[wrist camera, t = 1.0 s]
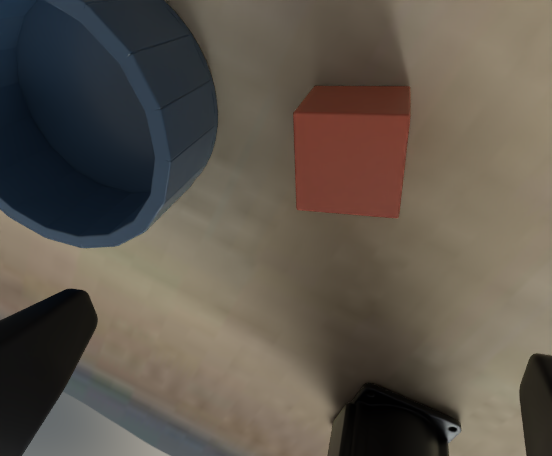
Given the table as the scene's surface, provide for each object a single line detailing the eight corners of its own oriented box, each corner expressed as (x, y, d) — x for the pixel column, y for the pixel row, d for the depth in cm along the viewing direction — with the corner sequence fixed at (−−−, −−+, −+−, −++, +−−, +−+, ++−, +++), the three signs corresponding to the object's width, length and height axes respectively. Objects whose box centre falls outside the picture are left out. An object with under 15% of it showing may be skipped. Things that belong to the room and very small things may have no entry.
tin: (243, 16, 17) (191, 32, 13) (196, 229, 24) (152, 283, 20) (0, -76, 18) (-121, -88, 14) (20, 156, 25) (-58, 194, 21)
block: (410, 85, 17) (410, 114, 14) (400, 175, 19) (398, 219, 16) (313, 85, 18) (292, 112, 15) (314, 170, 20) (295, 210, 17)
